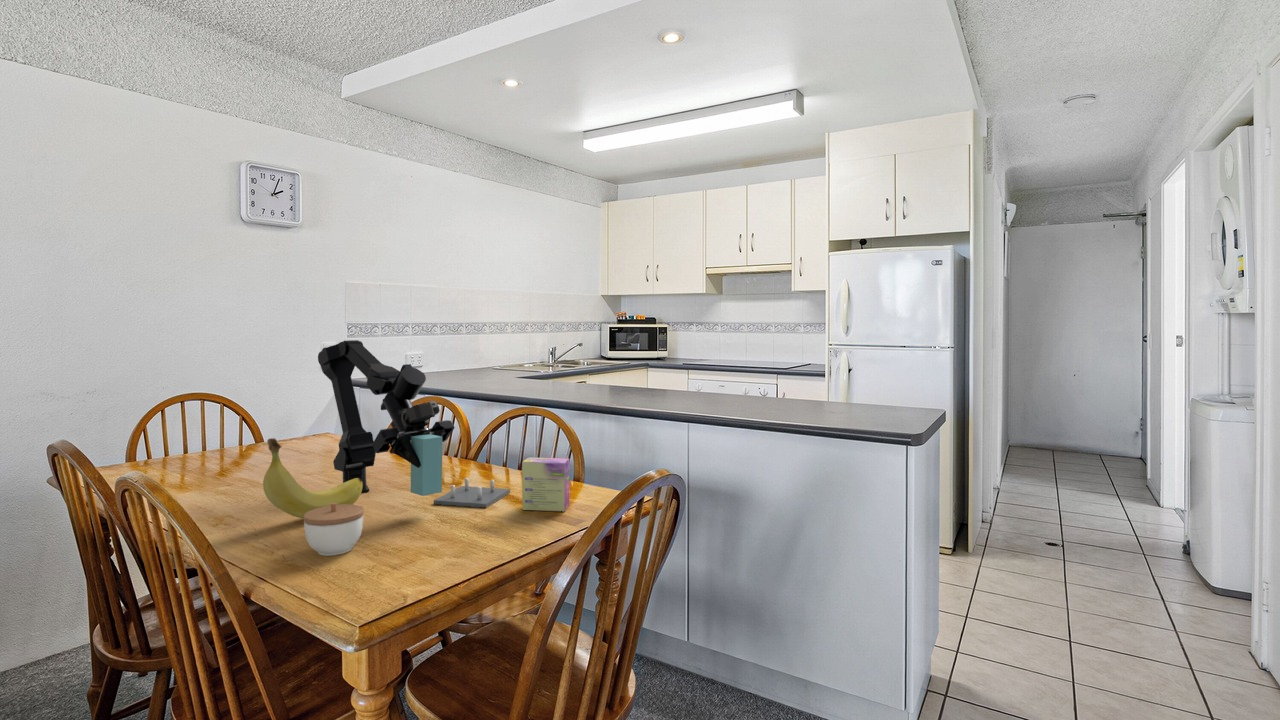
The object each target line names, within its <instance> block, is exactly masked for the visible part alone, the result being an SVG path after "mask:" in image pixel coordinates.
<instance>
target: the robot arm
mask: <svg viewBox="0 0 1280 720" xmlns="http://www.w3.org/2000/svg"><path fill="white" fill-rule="evenodd" d="M317 361H318V363H319V365H320V368H321V372H322V373H323V375H324V376H326V378H327V379H329V381H331V386H332V389H333V393H334V399H335V403H336V408H337V412H338V417H339V421H340V426H341V431H342V435H341V437H340V439H339V443H338V452H337V453H336V456H335V457H334V459H333V461H332V462H333V467H334V470H336V471H338V472H339V471H340V472H342V483H344V482H347V481H349V480H352V479H354V478H360V479H361V480H362V482H363V487H362V492H361V493H367V492H370V488H369V486H368V485H367V467H374V465H375V461H376V454H382V453H386V452H388V451H389V453H390V454H392V455H393V454H394V455H396V456H398V457H399V458H401V459H404V460H405V461H407V462H408V463H409V464H410V465H411V464H413V465H414V466H416V467H417V468H419V467H420V466H421V463H420V461H419V458H418V456H417V455H416V453H415V451H414V449H413V447H412V445H411V437H412V436H420V435H428V434H432V435H436V436H441V437H442V443H445V442H446V441H447V440H448V438H449V437H450V436H451V434H452V433H453V431H454V430H455V425H454V424H453V422H452V421H451V420H449V419H448V420H447V419H446V420H439V421H435V422H434V424H433V425H432V427H431V428H426V427H427V426H428V425H429V423H430V422H429V420H430V419H432V418H434V417H436V415H438V414H439V413H440V406H439V404H438V403H437V401H436V400H430V401H428V402H426V403H419V404H415V405H414V404H413V403H412V401H411V400H414V399H415V398H416V397H417V396H418V394H419V392H420V390H421V389H422V388H423V386H424V384H425V382H426V381H427V378H426V375H425V373H424V372H423V371H422V370H420V369H418V368H416V367H413V365H412V364H411V363H410V364H409V363H408V364H406V363H405V364H402V366H401V368H400V370H399V369H396V367H393V366H390V365H387V364H383V363H382V362H381V360H379V359H378V358H377V357H376V356H374V354H372V353H371V351H369V350H368V349H367V348H366V347H365V346H364V344H363V342H362V341H360V340H357V339H354V340H353V339H351V340H342V341H339V342H338V343H337V344H334V345H330V346H327V347H323V348H322V349H321V351H319V352H318V355H317ZM355 367H356V368H357V370H358V371H360V372H361V373H362V374H363V376H365V378H366V386H367V387H368V388H369V389H370V391H371V393H372V394H374V395H375V396H378V395H379V396H381V395H385V396H384V398H383V399H382V401H381V402H382V403H381V405H380V410H381V411H386V412H387V413H388V415H389V417H390V418H391V420H392V421H391V423H390V426H391V427H390V428H382V429H380V430H379V431H378V434H377V435H376V437H375V439H374V435H373V433H372V432H371V431H367V430H365V428H364V427H363V424H362V420H361V419H362V418H361V415H360V411H359V407H358V402H357V398H356V393H355V388H354V384H353V380H352V374H353V372H354V370H355Z"/></svg>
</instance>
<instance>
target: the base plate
mask: <svg viewBox="0 0 1280 720" xmlns="http://www.w3.org/2000/svg"><path fill="white" fill-rule="evenodd" d="M489 483H490V484H489V485H490V487H483V486H470V485H469V478H467V477H465V478H464V486H463V485H461V486H458V487H456V485H455V484H451V485H450V491H449V492H447V493H445V494H443V495H441V496H439V497H437V498H435V499H434V500H433V502H432V503H433V505H436V504H441V505H440V506H450V505H456V506H455V507H464V506H471V507H470V508H479V507H487V506H489V505H490V506H492V505H493V504H495V503H496V502H495V501H497V500H498V501H500V500H501V499H503V498H505V497H506V496H508V495H509V494H511V489H510V488H497V487H495V479H490V480H489ZM508 493H509V494H508ZM507 494H508V495H507ZM505 495H506V496H505ZM502 497H503V498H502ZM500 498H501V499H500ZM499 499H500V500H499ZM498 501H497V502H498ZM494 502H495V503H494ZM492 503H493V504H492ZM491 504H492V505H491ZM490 506H489V507H490ZM487 508H488V507H487Z"/></svg>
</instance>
